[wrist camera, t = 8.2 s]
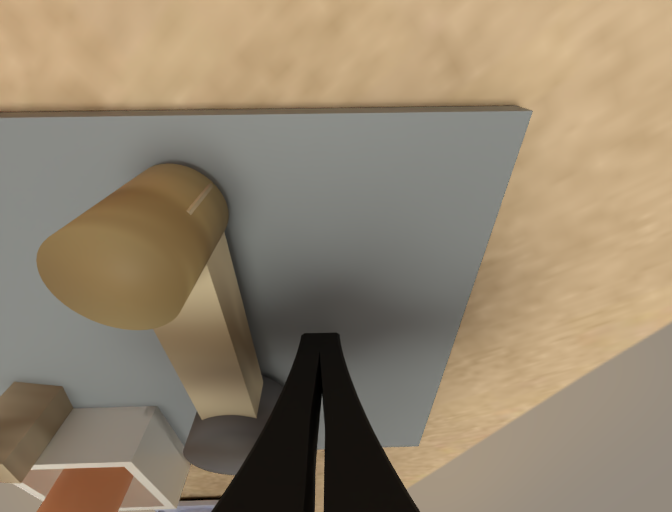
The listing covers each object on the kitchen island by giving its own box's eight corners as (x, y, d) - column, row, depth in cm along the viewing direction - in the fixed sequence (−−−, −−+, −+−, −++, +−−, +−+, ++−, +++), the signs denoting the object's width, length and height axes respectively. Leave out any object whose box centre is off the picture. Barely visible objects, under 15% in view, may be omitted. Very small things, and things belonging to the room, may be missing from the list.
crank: (291, 416, 16) (283, 497, 13) (215, 418, 16) (191, 501, 13) (244, 161, 8) (198, 226, 5) (93, 163, 8) (-39, 230, 5)
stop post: (62, 386, 14) (2, 464, 11) (73, 408, 15) (20, 483, 13) (14, 381, 14) (-60, 460, 11) (28, 404, 15) (-35, 480, 12)
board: (415, 432, 19) (418, 447, 19) (72, 443, 19) (62, 458, 18) (516, 105, 8) (534, 111, 8) (-303, 116, 8) (-367, 122, 7)
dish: (192, 459, 19) (176, 508, 17) (90, 462, 19) (62, 512, 17) (157, 406, 15) (130, 461, 13) (30, 409, 15) (-17, 466, 13)
